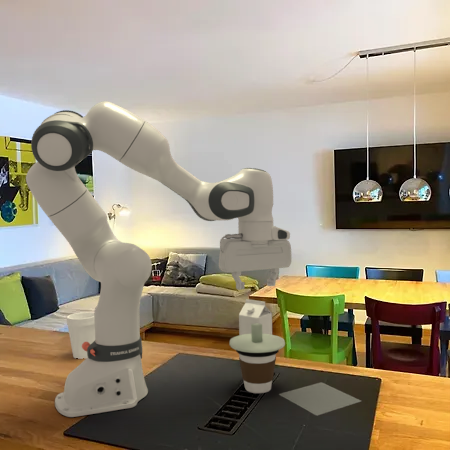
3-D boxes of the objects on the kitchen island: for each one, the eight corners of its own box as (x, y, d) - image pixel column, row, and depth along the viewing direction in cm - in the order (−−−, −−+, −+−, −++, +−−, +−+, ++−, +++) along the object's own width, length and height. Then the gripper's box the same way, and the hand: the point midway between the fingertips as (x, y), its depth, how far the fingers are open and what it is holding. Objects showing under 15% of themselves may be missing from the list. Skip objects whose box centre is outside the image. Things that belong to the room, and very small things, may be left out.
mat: (316, 418, 104) (316, 415, 104) (278, 396, 116) (278, 394, 116) (361, 403, 111) (361, 401, 111) (321, 384, 123) (321, 382, 123)
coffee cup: (230, 396, 117) (230, 348, 116) (244, 380, 127) (243, 336, 127) (273, 401, 113) (272, 352, 113) (283, 384, 123) (283, 339, 123)
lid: (249, 356, 110) (248, 335, 110) (219, 342, 122) (219, 323, 122) (296, 346, 117) (295, 326, 117) (263, 333, 129) (263, 315, 129)
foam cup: (104, 353, 152) (103, 314, 152) (82, 362, 145) (80, 320, 144) (84, 349, 158) (83, 311, 157) (62, 357, 150) (60, 317, 149)
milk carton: (253, 357, 145) (252, 297, 145) (272, 362, 141) (271, 299, 140) (239, 364, 140) (238, 301, 139) (259, 369, 135) (258, 304, 135)
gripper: (226, 235, 110) (227, 293, 111) (295, 232, 121) (295, 285, 121) (213, 233, 116) (214, 289, 116) (280, 231, 126) (280, 282, 127)
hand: (256, 287), depth 119 cm, fingers open, 8 cm apart
